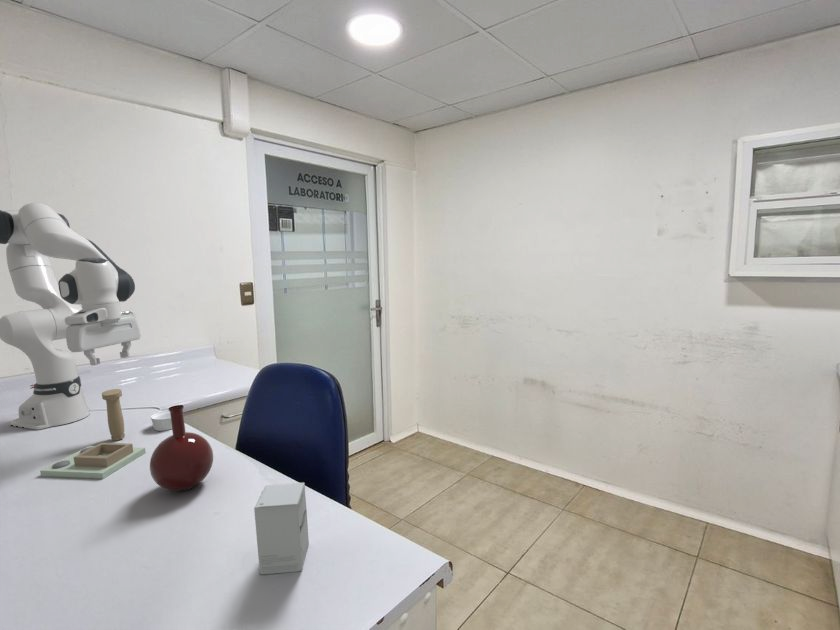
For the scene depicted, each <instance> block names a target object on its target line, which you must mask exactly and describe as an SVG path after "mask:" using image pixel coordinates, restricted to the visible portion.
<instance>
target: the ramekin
mask: <svg viewBox="0 0 840 630" xmlns="http://www.w3.org/2000/svg"><path fill="white" fill-rule="evenodd" d="M150 420H151V422H152V427H153V429H154V430H155V431H158V432H164V431H169V430H172V423H171V415H170V411H169V409H165V410H161V411H158V412H155V413H154V414H152V415H150Z"/></svg>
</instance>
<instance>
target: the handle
mask: <svg viewBox="0 0 840 630" xmlns="http://www.w3.org/2000/svg"><path fill="white" fill-rule="evenodd" d="M122 392H123V391H122V389H119V388H114V389H113V388H112V389H109V390H108V389H107V390H104V391H103V392H101V398H102V400H104V401H105V402H106V412H107V413H106V415H107V424H108V430H109V433H110V438H111V441H115V442H116V441H121V440H123V439H124V438H125V435H126V434H125V422H124V421H125V419H124V415H123V411H122V407H121V401H120V398H121V397H122V396H123V393H122Z"/></svg>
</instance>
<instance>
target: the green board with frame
mask: <svg viewBox="0 0 840 630" xmlns="http://www.w3.org/2000/svg"><path fill="white" fill-rule="evenodd" d="M146 453H147V452H146V447H135V446H134V445H133V443H126V442H125V443H119V442H116V443H115V442H100V443H98V444H96V445H88V446H86V447H84V448H82V449H80V450H78V451H76V452H74V453H72V454H70V455H68V456H66V457H64V458H62V459H59V460H58V461H56V462H54V463H52V464H50V465H48V466H46V467H44V468H43V469H41V470H39V472H40V476H41V477H51V478H52V477H57V478H74V479H75V478H76V479H78V478H79V479H82V478H83V479H102V480H104V479H105V478H107V477H109V476H111V475H112V474H114V473H115V472H117V471H118V470H120V469H122V468H123V467H125V466H127V465H129V464H131V461H132V462H134V461H135V460H136V459H138V458H140V457H141V456H143V455H145V454H146Z"/></svg>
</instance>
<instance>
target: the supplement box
mask: <svg viewBox="0 0 840 630" xmlns="http://www.w3.org/2000/svg"><path fill="white" fill-rule="evenodd" d="M306 497H307V496H306V485H305V482H293V483H282V484H281V483H280V484H270V485H269V484H267V485H265V486H264V487H263V490H262V492H261V494H260V496H259V498H258V500H257V502H256V504H255V506H254V507H253V508H254V509H253V511H254V521H255V523H254V524H255V534H256V542H257V554H258V556H257V557H258V566H259V567H258V568H259V575H272V574H273V575H274V574H284V573H295V572H296V573H297V572H301V571H302V570H303V566H304V562H305V558H306V555H307V550H308V547H309V544H310V543H309V542H310V541H309V540H310V539H309V528H308V527H309V525H308V512H307V511H308V510H307V509H308V508H307V498H306Z"/></svg>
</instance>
